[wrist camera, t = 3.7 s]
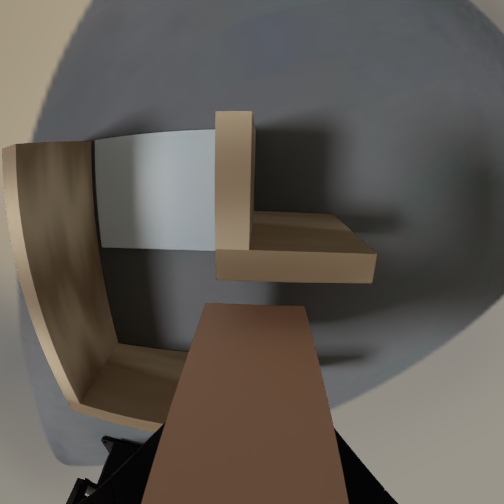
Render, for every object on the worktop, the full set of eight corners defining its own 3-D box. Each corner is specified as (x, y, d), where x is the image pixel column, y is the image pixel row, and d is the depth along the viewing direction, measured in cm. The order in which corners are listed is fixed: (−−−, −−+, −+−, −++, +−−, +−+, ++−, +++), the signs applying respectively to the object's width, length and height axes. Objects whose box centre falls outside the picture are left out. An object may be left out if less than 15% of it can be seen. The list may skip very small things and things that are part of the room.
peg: (294, 376, 13) (313, 580, 3) (210, 373, 13) (171, 575, 3) (304, 306, 11) (359, 570, 2) (206, 302, 12) (126, 560, 2)
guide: (311, 367, 17) (325, 441, 12) (109, 352, 18) (72, 410, 12) (337, 135, 13) (388, 125, 7) (77, 143, 13) (2, 148, 7)
